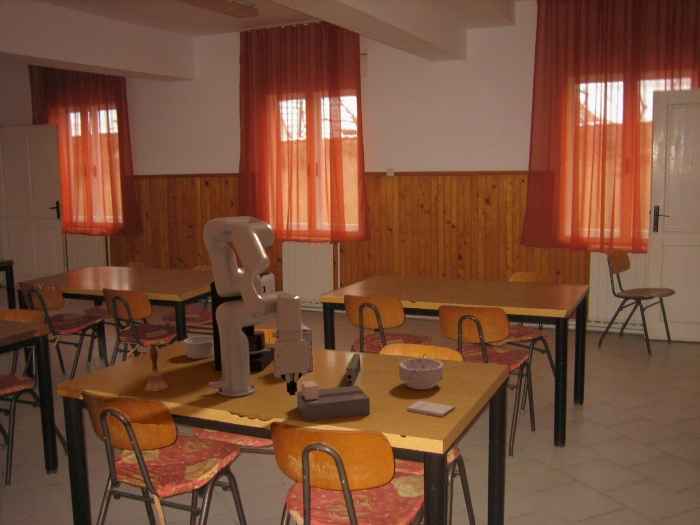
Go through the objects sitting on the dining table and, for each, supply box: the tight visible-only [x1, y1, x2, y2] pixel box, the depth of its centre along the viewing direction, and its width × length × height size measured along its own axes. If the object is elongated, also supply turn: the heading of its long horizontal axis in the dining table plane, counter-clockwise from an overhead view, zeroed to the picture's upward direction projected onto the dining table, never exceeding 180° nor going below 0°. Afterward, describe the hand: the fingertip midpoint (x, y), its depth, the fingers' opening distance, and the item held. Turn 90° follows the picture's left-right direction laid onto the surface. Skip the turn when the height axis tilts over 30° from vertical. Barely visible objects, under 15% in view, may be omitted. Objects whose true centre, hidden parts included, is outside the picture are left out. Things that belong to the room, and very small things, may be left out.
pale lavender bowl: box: [398, 357, 444, 391], centre depth 238 cm, size 15×15×8 cm
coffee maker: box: [209, 272, 276, 373], centre depth 271 cm, size 28×20×35 cm
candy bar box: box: [302, 323, 314, 372], centre depth 264 cm, size 11×5×16 cm, turn 22°
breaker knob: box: [301, 380, 319, 400], centre depth 213 cm, size 4×6×4 cm, turn 14°
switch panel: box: [296, 385, 371, 422], centre depth 215 cm, size 20×14×5 cm
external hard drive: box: [406, 400, 456, 418], centre depth 214 cm, size 2×8×12 cm
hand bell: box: [144, 343, 169, 393], centre depth 244 cm, size 8×8×16 cm
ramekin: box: [183, 335, 214, 360], centre depth 289 cm, size 13×13×7 cm
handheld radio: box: [345, 353, 362, 387], centre depth 248 cm, size 7×3×25 cm
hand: (292, 394), depth 212 cm, fingers closed
